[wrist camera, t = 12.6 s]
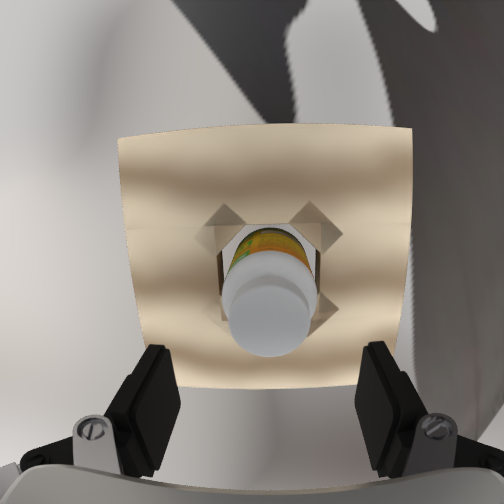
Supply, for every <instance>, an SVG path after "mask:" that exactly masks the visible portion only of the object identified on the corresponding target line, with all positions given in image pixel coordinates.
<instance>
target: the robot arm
mask: <svg viewBox="0 0 504 504" xmlns="http://www.w3.org/2000/svg"><path fill="white" fill-rule="evenodd" d="M180 405H181V401H180V396H179V391H178V387H177V382H176V378H175V373H174V368H173V363H172V358H171V353H170V350H169V349H166V347H165V346H164V345H159V344H149V345H148V347H147V349H146V350H145V352H144V354H143V355H142V357H141V359H140V360H139V362H138V364H137V366H136V367H135V369H134V370H133V372H132V374H130V375H128V376H127V377H126V379H125V381H124V382H123V384H122V385H121V387H120V389H119V390H118V392H117V394H116V395H115V397H114V399H113V400H112V402H111V404H110V406H109V407H108V409H107V410H106V412H105V414H104V416H101V415H89V416H85V417H83V418H81V419H80V420H79V421H78V422H76V424H75V425H74V427H73V436H72V437H69V438H66V439H63V440H60V441H57V442H54V443H51V444H48V445H45V446H42V447H39V448H36V449H33V450H30V451H28V452H27V453H26V454H24V455H23V457H22V458H21V461H20V464H18V465H17V464H16V463H15V462H14V463H11V464H8V465H6V466H3V467H0V504H504V451H502V450H500V449H497V448H494V447H491V446H488V445H485V444H482V443H479V442H477V441H474V440H471V439H468V438H465V437H462V436H460V435H457V432H458V429H457V425H456V423H455V421H454V420H453V419H452V418H451V417H449V416H447V415H444V414H441V413H432V414H428V412H427V410H426V408H425V406H424V404H423V403H422V401H421V399H420V397H419V395H418V393H417V391H416V389H415V388H414V386H413V384H412V382H411V380H410V378H409V376H408V375H407V373H406V372H405V371H400V369H399V368H398V366H397V364H396V362H395V360H394V358H393V356H392V355H391V353H390V351H389V349H388V347H387V345H386V344H385V342H384V341H373V342H369V343H368V346H364V347H363V352H362V359H361V365H360V371H359V377H358V383H357V389H356V394H355V408H356V412H357V415H358V419H359V422H360V426H361V429H362V433H363V437H364V440H365V444H366V448H367V452H368V455H369V459H370V463H371V467H372V470H374V471H375V470H377V472H378V476H379V478H380V477H386V476H388V477H389V478H391V479H388V480H382V481H376V482H370V483H364V484H356V485H348V486H340V487H330V488H317V489H301V490H233V489H217V488H205V487H195V486H186V485H177V484H170V483H163V482H157V481H151V480H146V479H140V477H142V476H147V477H153V474H154V471H155V470H157V471H158V470H159V469H160V466H161V463H162V460H163V457H164V454H165V451H166V448H167V445H168V442H169V439H170V436H171V433H172V430H173V428H174V425H175V422H176V419H177V416H178V413H179V410H180Z"/></svg>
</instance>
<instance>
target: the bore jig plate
mask: <svg viewBox="0 0 504 504" xmlns="http://www.w3.org/2000/svg"><path fill="white" fill-rule="evenodd" d="M118 156H119V172H120V184H121V196H122V205H123V206H122V207H123V215H124V225H125V233H126V241H127V248H128V255H129V261H130V268H131V275H132V281H133V287H134V292H135V297H136V303H137V308H138V314H139V319H140V323H141V329H142V333H143V338H144V343H145V347H146V349H147V347H148V345H149V344H159V345H164V346H165V347H166V349H169V350H170V353H171V358H172V363H173V368H174V373H175V378H176V382H177V386H183V387H201V388H227V389H288V388H312V387H329V386H341V385H354V384H357V383H358V377H359V371H360V365H361V359H362V352H363V347H364V346H368V343H369V342H373V341H384V342H385V344H386V345H387V347H388V349H389V351H390V353H391V355H392V356H393V355H394V351H395V346H396V341H397V335H398V329H399V324H400V317H401V311H402V304H403V297H404V290H405V282H406V273H407V265H408V255H409V244H410V230H411V213H412V185H413V149H412V129H410V128H400V127H386V126H373V125H355V124H321V123H320V124H319V123H285V124H253V125H233V126H219V127H206V128H195V129H185V130H176V131H168V132H159V133H151V134H145V135H137V136H130V137H124V138H118ZM260 224H291V225H292V226H293V227H294V228H295V229H296V230H297V231H298V232H299V233H300V234H301V235H302V236H303V237H304V238H305V239H306V240H307V241H308V242H310V243H311V244H312V245H313V246H314V247H315V248H316V266H315V284H316V289H317V305H316V309H315V312H314V314H313V316H312V318H311V324H310V329H309V332H308V334H307V337H306V338H305V340H304V341H303V342H302V344H301V345H300V346H299V347H297V348H296V349H295V350H293V351H292V352H290V353H287V354H285V355H282V356H277V357H262V356H257V355H254V354H251V353H249V352H247V351H246V350H244V349H243V348H241V347H240V346H239V345H238V344H237V343H236V341H235V340H234V339H233V337H232V335H231V333H230V330H229V326H228V318H227V317H226V314H225V312H224V309H223V305H222V289H223V284H224V273H223V259H222V249H223V248H224V247H225V246H226V245H227V244H228V243H229V242H230V241H231V240H232V239H233V237H234V236H235V235H236V234H237V233H238V232H239V231H240V230H241V229H242V228H243V227H244V226H245V225H260Z"/></svg>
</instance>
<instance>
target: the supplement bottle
mask: <svg viewBox="0 0 504 504" xmlns="http://www.w3.org/2000/svg"><path fill="white" fill-rule="evenodd" d="M222 305H223V309H224V312H225V314H226V317H227V318H228V326H229V330H230V333H231V335H232V337H233V339H234V340H235V341H236V343H237V344H238V345H239V346H240V347H241V348H243V349H244V350H246V351H247V352H249V353H251V354H254V355H257V356H262V357H277V356H282V355H285V354H287V353H290V352H292V351H293V350H295V349H296V348H297V347H299V346H300V345H301V344H302V342H303V341H304V340H305V338H306V337H307V334H308V332H309V329H310V324H311V318H312V316H313V314H314V312H315V309H316V305H317V289H316V284H315V280H314V277H313V275H312V271H311V269H310V266H309V263H308V260H307V256H306V253H305V251H304V248H303V246H302V245H301V243H300V242H299V241H298V239H297V238H296V237H295V236H293V235H292V234H290V233H289V232H287V231H284V230H282V229H278V228H262V229H259V230H256V231H254V232H252V233H250V234H249V235H248V236H246V237H245V238H244V239H243V240H242V242H241V243H240V244H239V246H238V248H237V250H236V252H235V255H234V257H233V260H232V263H231V265H230V268H229V271H228V273H227V276H226V278H225V281H224V284H223V289H222Z"/></svg>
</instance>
